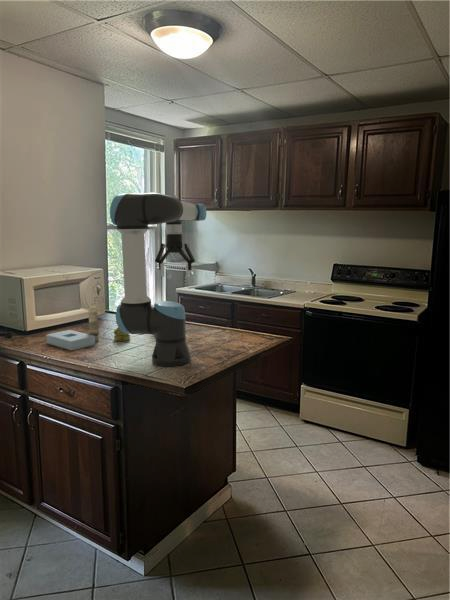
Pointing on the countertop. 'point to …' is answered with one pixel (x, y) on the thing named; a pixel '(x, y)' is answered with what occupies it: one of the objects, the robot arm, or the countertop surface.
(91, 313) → the beech peg
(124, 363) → the countertop surface
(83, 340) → the slate board
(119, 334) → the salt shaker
